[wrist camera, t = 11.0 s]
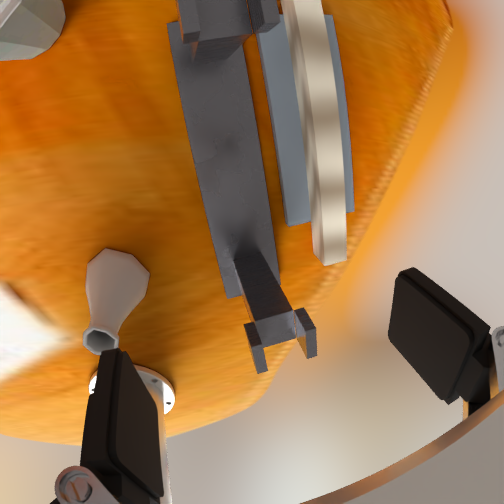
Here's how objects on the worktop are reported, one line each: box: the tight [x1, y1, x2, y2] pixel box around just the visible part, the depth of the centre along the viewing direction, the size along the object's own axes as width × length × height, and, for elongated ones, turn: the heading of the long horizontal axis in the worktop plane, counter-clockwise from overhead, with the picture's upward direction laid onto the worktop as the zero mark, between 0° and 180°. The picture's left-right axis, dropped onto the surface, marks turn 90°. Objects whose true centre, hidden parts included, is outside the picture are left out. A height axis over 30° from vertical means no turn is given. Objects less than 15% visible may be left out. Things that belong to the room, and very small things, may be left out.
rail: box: [280, 0, 347, 266], centre depth 25 cm, size 28×2×3 cm, turn 9°
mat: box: [256, 14, 354, 227], centre depth 27 cm, size 21×8×1 cm, turn 10°
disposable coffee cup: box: [0, 0, 66, 61], centre depth 10 cm, size 11×11×15 cm
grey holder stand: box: [167, 0, 317, 374], centre depth 22 cm, size 28×6×14 cm, turn 10°
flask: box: [83, 248, 150, 355], centre depth 26 cm, size 7×7×10 cm
